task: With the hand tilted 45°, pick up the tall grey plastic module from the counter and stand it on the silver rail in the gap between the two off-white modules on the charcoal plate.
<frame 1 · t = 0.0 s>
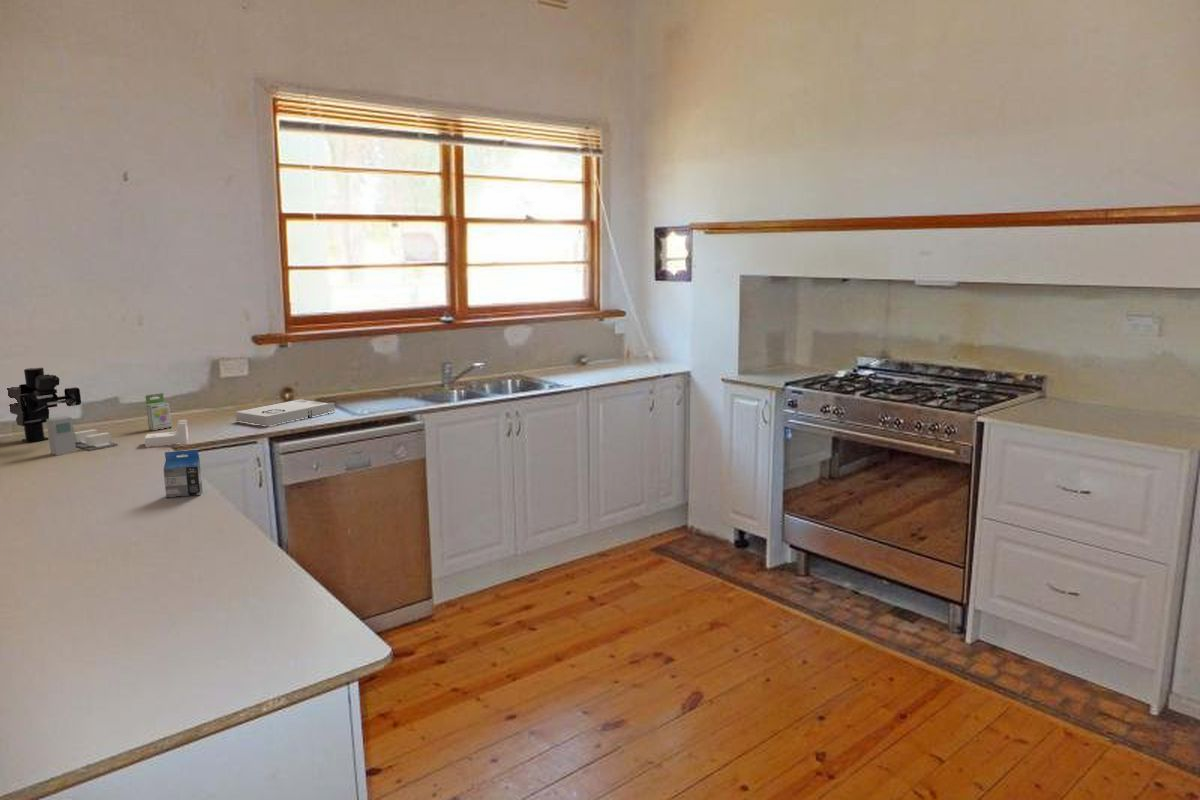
hand: (60, 402, 285), 17 cm above the worktop, tool horizontal, fingers open, 9 cm apart
blue retail package: (184, 495, 233), on the worktop
power supply unit: (287, 419, 339), on the worktop
grey module: (63, 453, 283), on the worktop
ink box: (160, 429, 319), on the worktop
module rail: (92, 445, 294), on the worktop
bracket: (167, 444, 296), on the worktop
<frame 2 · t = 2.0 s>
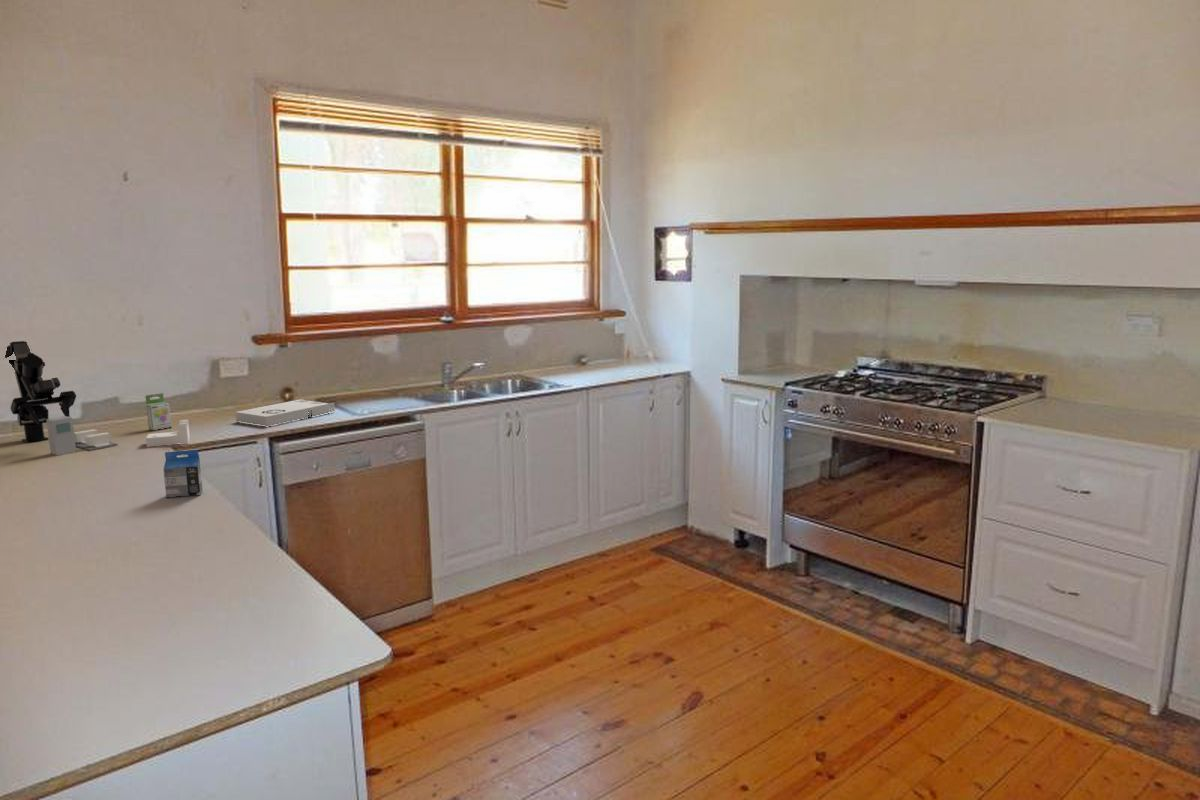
hand: (53, 421, 283), 11 cm above the worktop, tool tilted 45°, fingers open, 9 cm apart
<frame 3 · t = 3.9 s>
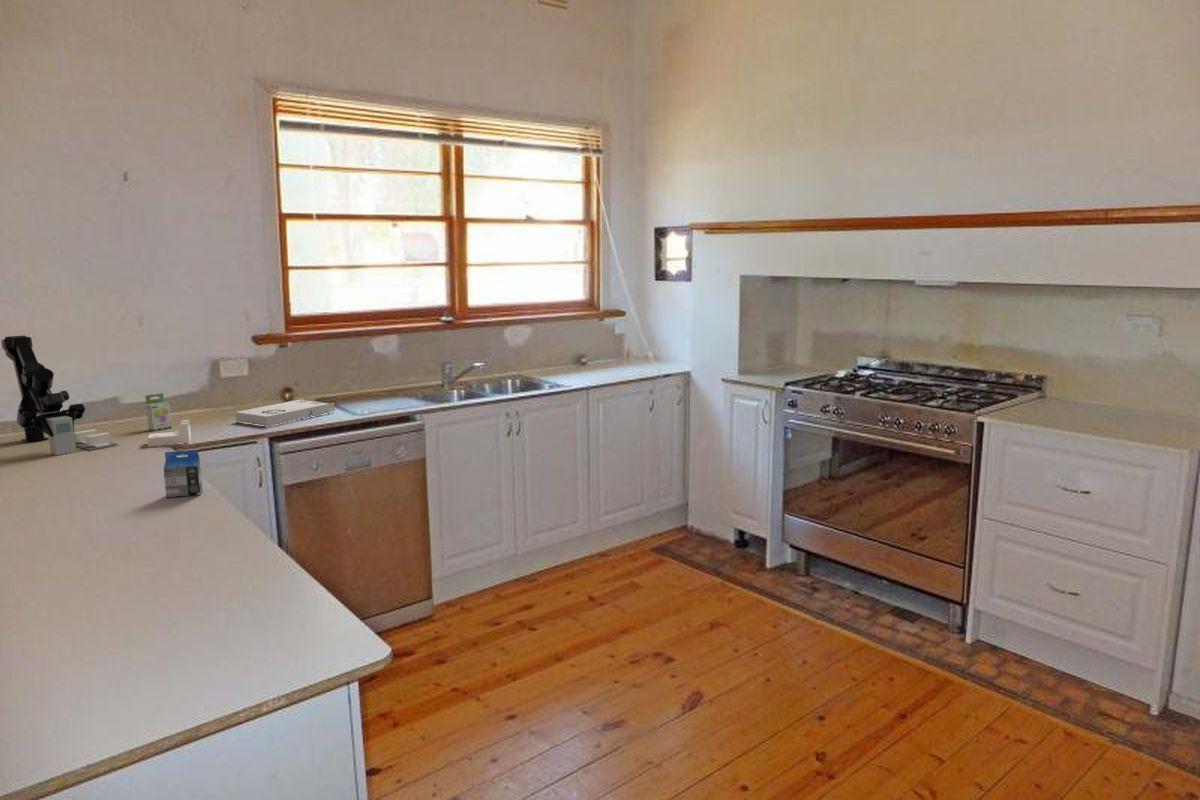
hand: (63, 434, 281), 7 cm above the worktop, tool tilted 45°, fingers closed on grey module, 6 cm apart
grey module: (63, 453, 283), on the worktop, touching gripper
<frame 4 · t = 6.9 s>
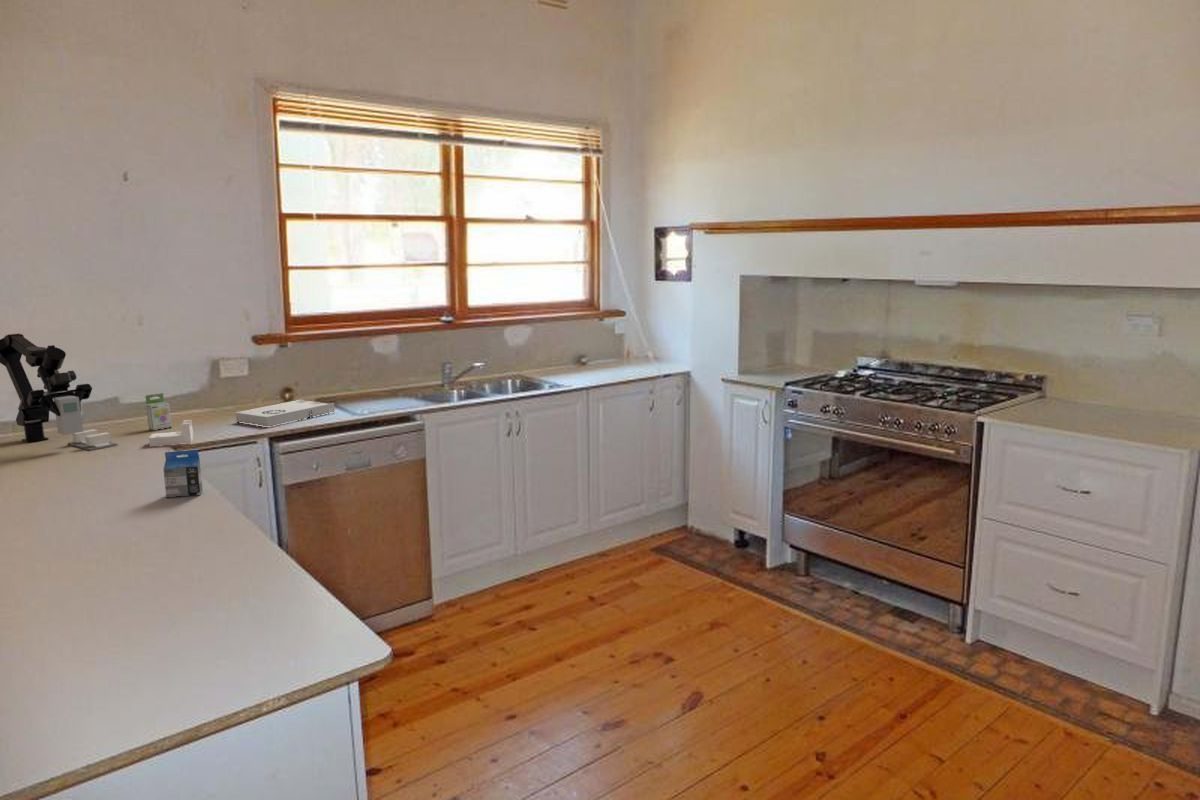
hand: (69, 413, 283), 13 cm above the worktop, tool tilted 45°, fingers closed on grey module, 6 cm apart
grey module: (70, 432, 285), point 6 cm above the worktop, touching gripper
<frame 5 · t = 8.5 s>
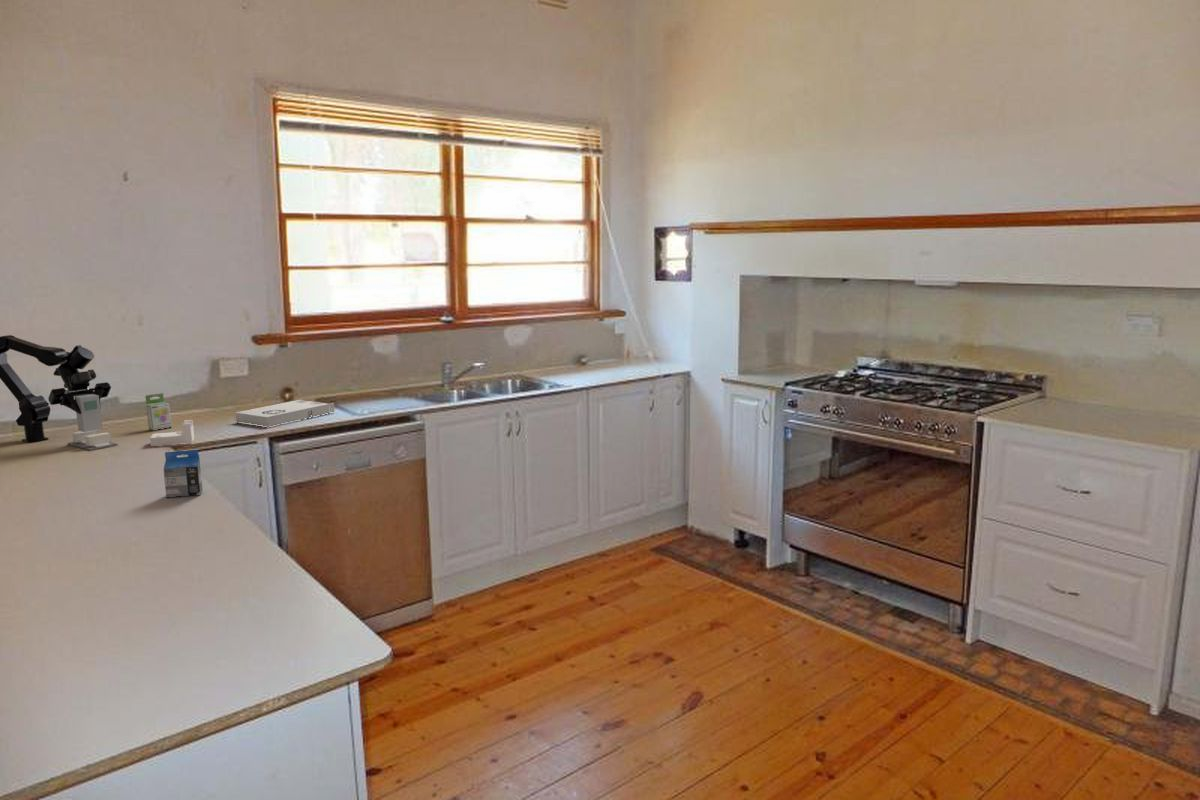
hand: (90, 411, 291), 12 cm above the worktop, tool tilted 45°, fingers closed on grey module, 6 cm apart
grey module: (90, 429, 293), point 6 cm above the worktop, touching gripper
when the fingers open (9 cm above the worktop, at t = 9.9 s): grey module stays where it is, resting on module rail.
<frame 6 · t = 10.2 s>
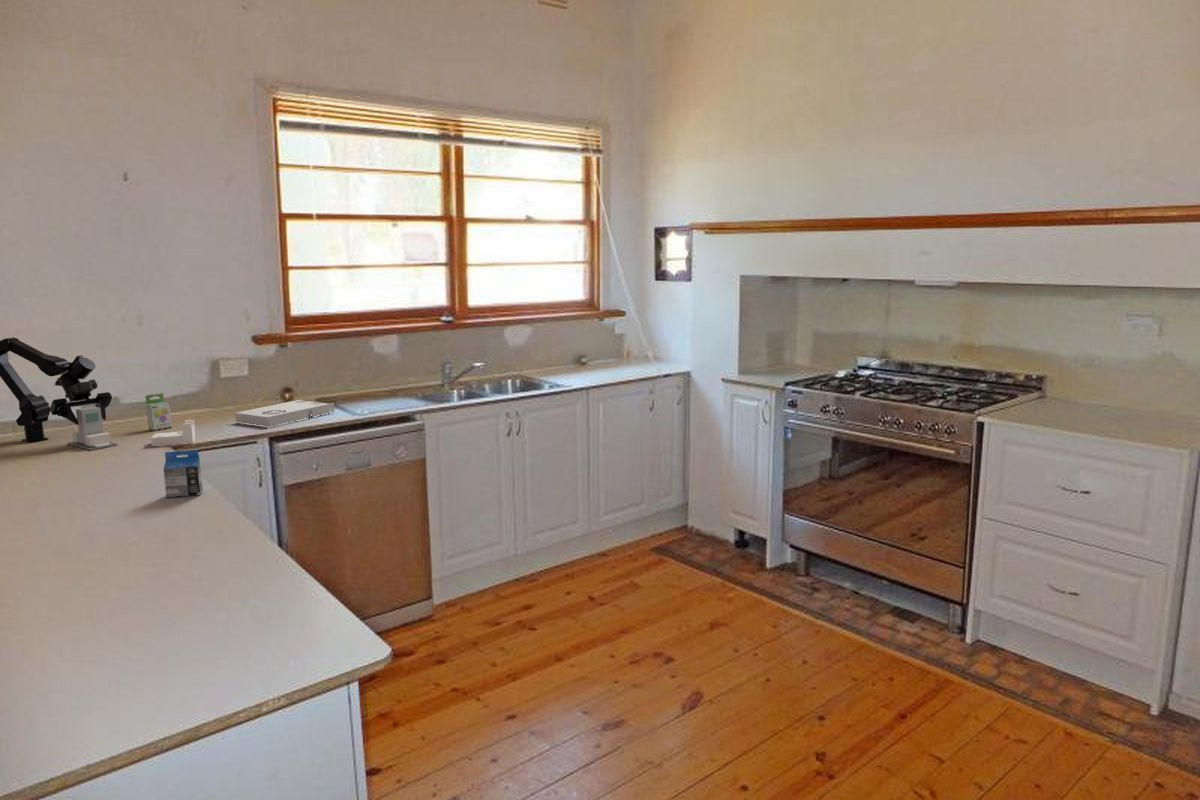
hand: (91, 421, 292), 9 cm above the worktop, tool tilted 45°, fingers open, 9 cm apart
grey module: (92, 441, 294), point 1 cm above the worktop, touching module rail
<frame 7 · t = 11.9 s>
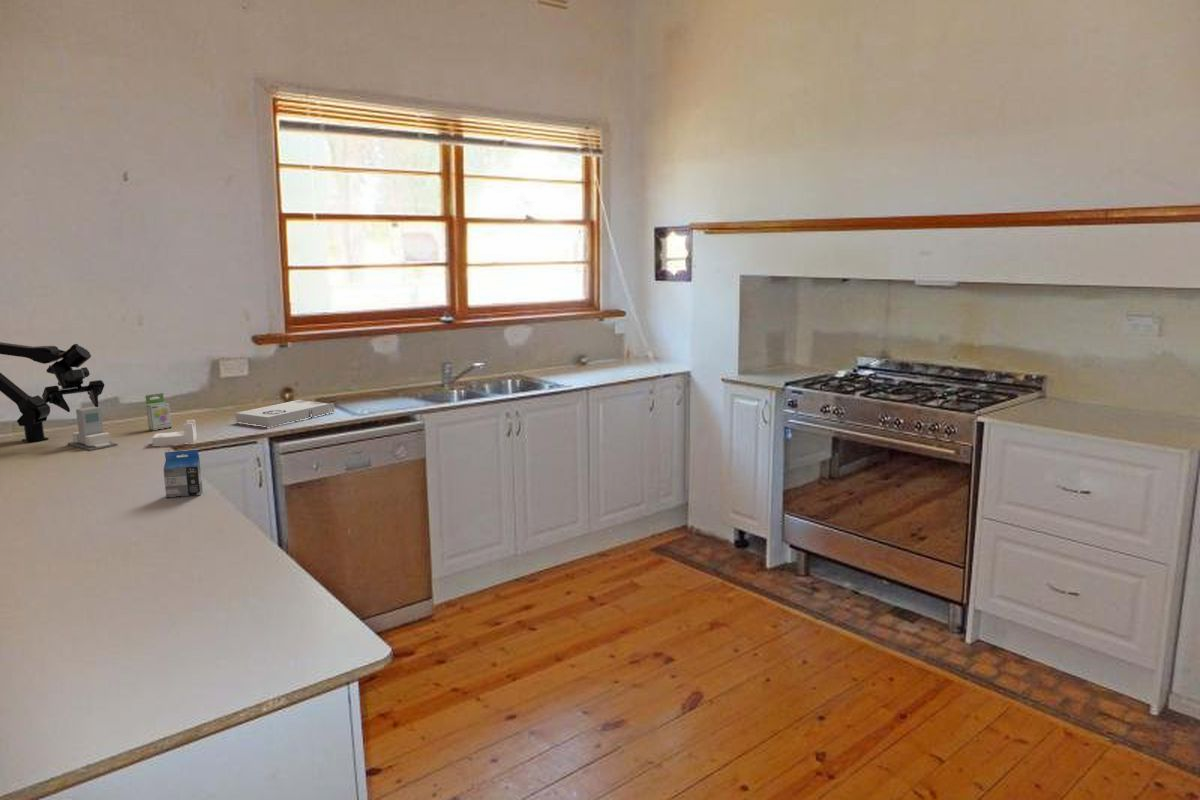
hand: (83, 409, 294), 13 cm above the worktop, tool tilted 45°, fingers open, 9 cm apart
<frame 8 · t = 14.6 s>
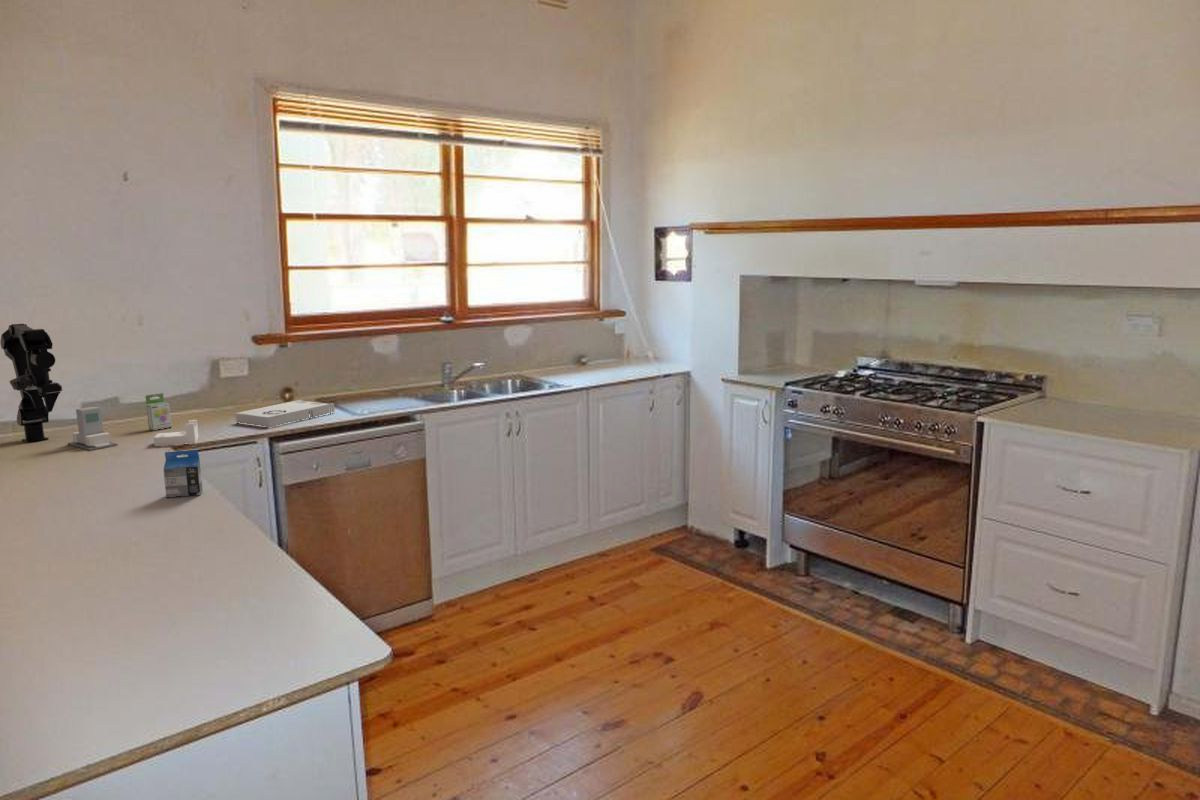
hand: (43, 410, 289), 13 cm above the worktop, tool pointing down, fingers open, 9 cm apart
at the end: grey module 0.0 cm off-centre on the module rail, point 1.1 cm above the module rail's base; grey module tilted 0°; the gripper is holding nothing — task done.
